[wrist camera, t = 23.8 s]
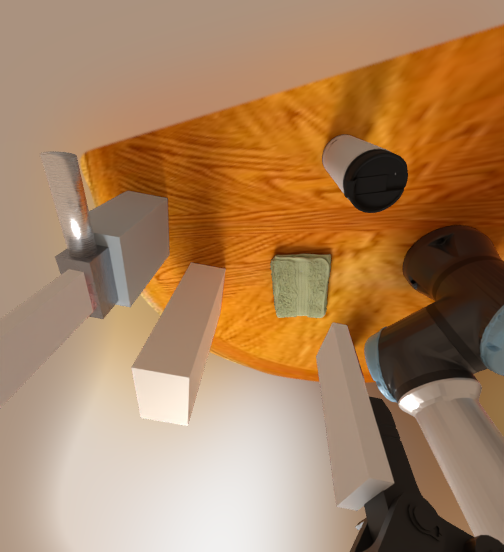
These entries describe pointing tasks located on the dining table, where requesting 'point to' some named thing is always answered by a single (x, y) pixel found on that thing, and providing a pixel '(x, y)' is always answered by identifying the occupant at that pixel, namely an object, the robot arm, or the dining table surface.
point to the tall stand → (179, 347)
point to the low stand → (133, 239)
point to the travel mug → (365, 172)
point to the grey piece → (79, 232)
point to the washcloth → (300, 284)
